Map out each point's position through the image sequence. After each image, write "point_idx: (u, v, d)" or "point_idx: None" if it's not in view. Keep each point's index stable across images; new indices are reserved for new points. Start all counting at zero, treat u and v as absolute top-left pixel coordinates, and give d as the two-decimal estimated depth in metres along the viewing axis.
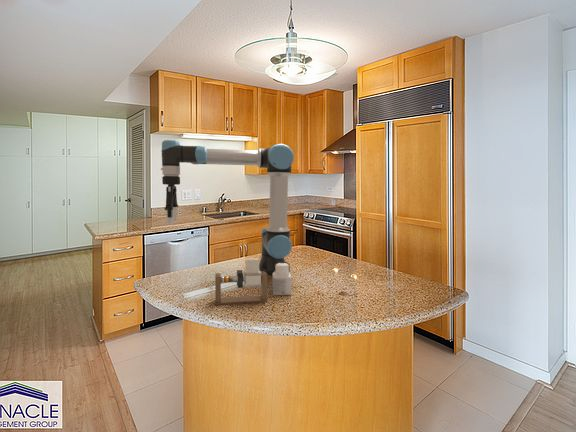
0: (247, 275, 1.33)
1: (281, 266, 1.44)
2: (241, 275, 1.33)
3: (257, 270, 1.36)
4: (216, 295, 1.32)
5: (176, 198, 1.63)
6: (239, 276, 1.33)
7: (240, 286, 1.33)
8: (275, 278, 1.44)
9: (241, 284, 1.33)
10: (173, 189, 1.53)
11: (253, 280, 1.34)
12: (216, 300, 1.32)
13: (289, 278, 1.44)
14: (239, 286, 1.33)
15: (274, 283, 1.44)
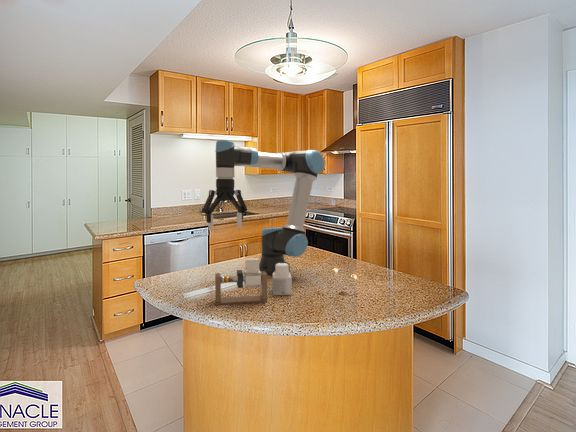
0: (247, 275, 1.33)
1: (281, 266, 1.44)
2: (241, 275, 1.33)
3: (257, 270, 1.36)
4: (216, 295, 1.32)
5: (242, 203, 1.48)
6: (239, 276, 1.33)
7: (240, 286, 1.33)
8: (275, 278, 1.44)
9: (241, 284, 1.33)
10: (222, 193, 1.41)
11: (253, 280, 1.34)
12: (216, 300, 1.32)
13: (289, 278, 1.44)
14: (239, 286, 1.33)
15: (274, 283, 1.44)
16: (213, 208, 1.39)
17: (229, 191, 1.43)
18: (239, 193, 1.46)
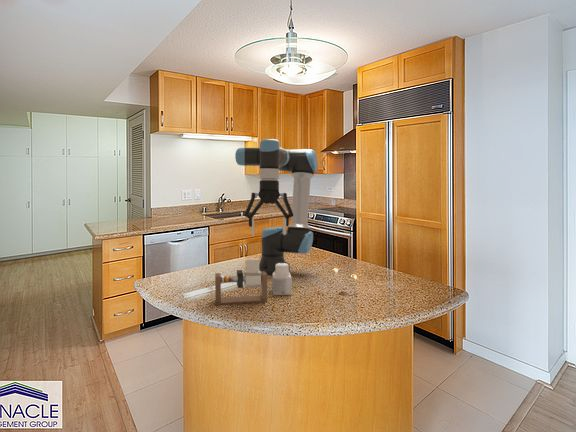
0: (247, 275, 1.33)
1: (281, 266, 1.44)
2: (241, 275, 1.33)
3: (257, 270, 1.36)
4: (216, 295, 1.32)
5: (288, 208, 1.36)
6: (239, 276, 1.33)
7: (240, 286, 1.33)
8: (275, 278, 1.44)
9: (241, 284, 1.33)
10: (264, 195, 1.33)
11: (253, 280, 1.34)
12: (216, 300, 1.32)
13: (289, 278, 1.44)
14: (239, 286, 1.33)
15: (274, 283, 1.44)
16: (254, 211, 1.33)
17: (273, 193, 1.34)
18: (285, 196, 1.35)
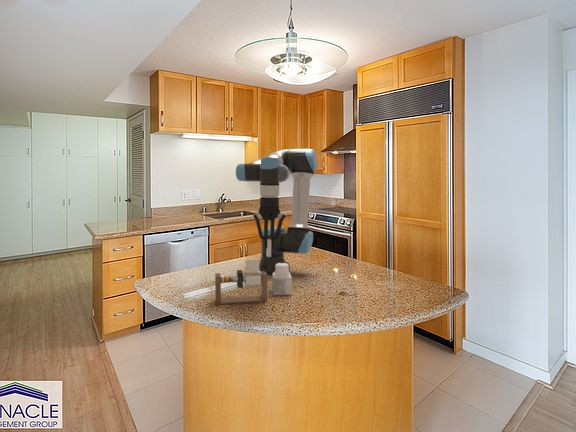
0: (247, 275, 1.33)
1: (281, 266, 1.44)
2: (241, 275, 1.33)
3: (257, 270, 1.36)
4: (216, 295, 1.32)
5: (278, 229, 1.36)
6: (239, 276, 1.33)
7: (240, 286, 1.33)
8: (275, 278, 1.44)
9: (241, 284, 1.33)
10: (264, 213, 1.34)
11: (253, 280, 1.34)
12: (216, 300, 1.32)
13: (289, 278, 1.44)
14: (239, 286, 1.33)
15: (274, 283, 1.44)
16: (266, 232, 1.35)
17: (274, 208, 1.35)
18: (282, 217, 1.36)
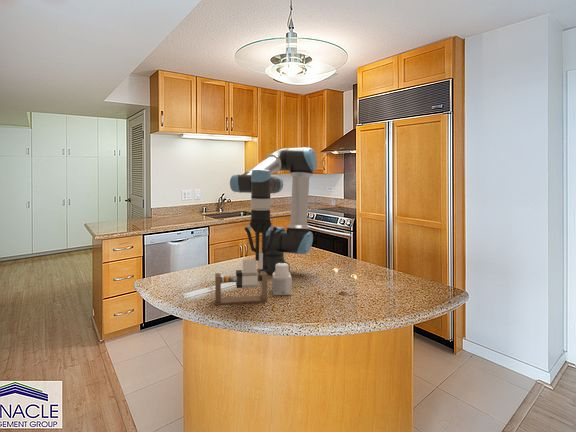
0: (244, 275, 1.33)
1: (281, 266, 1.44)
2: (240, 275, 1.33)
3: (254, 270, 1.36)
4: (216, 295, 1.32)
5: (270, 241, 1.36)
6: (238, 276, 1.33)
7: (239, 286, 1.33)
8: (275, 278, 1.44)
9: (240, 284, 1.33)
10: (256, 226, 1.34)
11: (249, 281, 1.34)
12: (216, 300, 1.32)
13: (289, 278, 1.44)
14: (238, 286, 1.33)
15: (274, 283, 1.44)
16: (257, 245, 1.35)
17: (266, 220, 1.34)
18: (273, 230, 1.35)
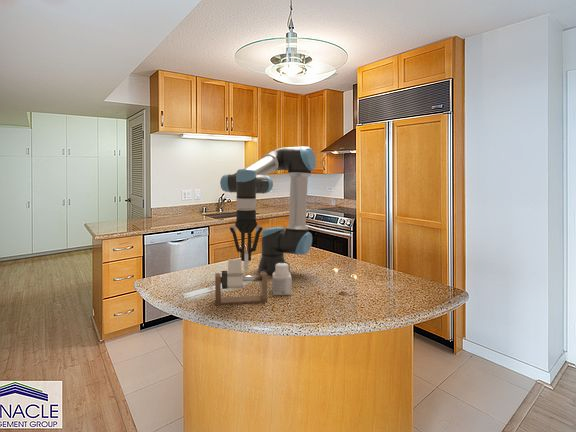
0: (229, 276, 1.32)
1: (281, 266, 1.44)
2: (225, 276, 1.32)
3: (239, 271, 1.34)
4: (216, 295, 1.32)
5: (255, 241, 1.34)
6: (223, 277, 1.32)
7: (224, 287, 1.32)
8: (275, 278, 1.44)
9: (225, 285, 1.32)
10: (241, 226, 1.33)
11: (234, 281, 1.33)
12: (216, 300, 1.32)
13: (289, 278, 1.44)
14: (223, 287, 1.32)
15: (274, 283, 1.44)
16: (243, 245, 1.33)
17: (251, 220, 1.33)
18: (259, 230, 1.34)
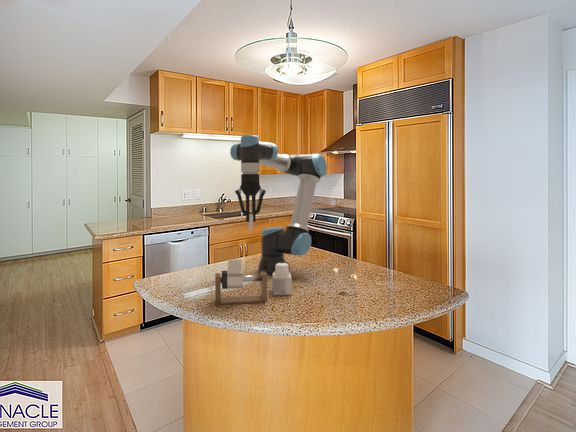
0: (229, 276, 1.32)
1: (281, 266, 1.44)
2: (225, 276, 1.32)
3: (239, 271, 1.34)
4: (216, 295, 1.32)
5: (259, 203, 1.44)
6: (223, 277, 1.32)
7: (224, 287, 1.32)
8: (275, 278, 1.44)
9: (225, 285, 1.32)
10: None
11: (234, 281, 1.33)
12: (216, 300, 1.32)
13: (289, 278, 1.44)
14: (223, 287, 1.32)
15: (274, 283, 1.44)
16: (247, 207, 1.43)
17: (255, 184, 1.43)
18: (263, 193, 1.44)
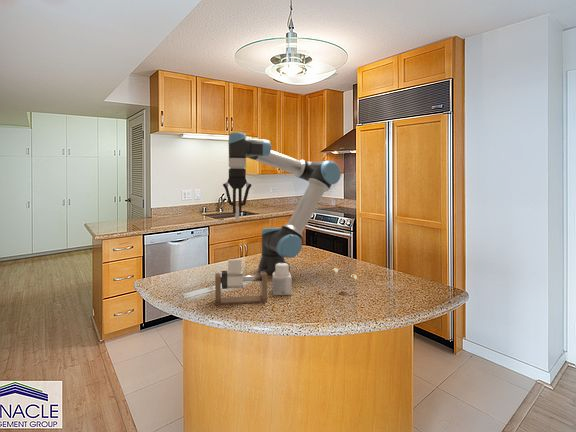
0: (229, 276, 1.32)
1: (281, 266, 1.44)
2: (225, 276, 1.32)
3: (239, 271, 1.34)
4: (216, 295, 1.32)
5: (245, 196, 1.55)
6: (223, 277, 1.32)
7: (224, 287, 1.32)
8: (275, 278, 1.44)
9: (225, 285, 1.32)
10: (232, 182, 1.53)
11: (234, 281, 1.33)
12: (216, 300, 1.32)
13: (289, 278, 1.44)
14: (223, 287, 1.32)
15: (274, 283, 1.44)
16: (234, 199, 1.54)
17: (241, 178, 1.53)
18: (248, 186, 1.54)
